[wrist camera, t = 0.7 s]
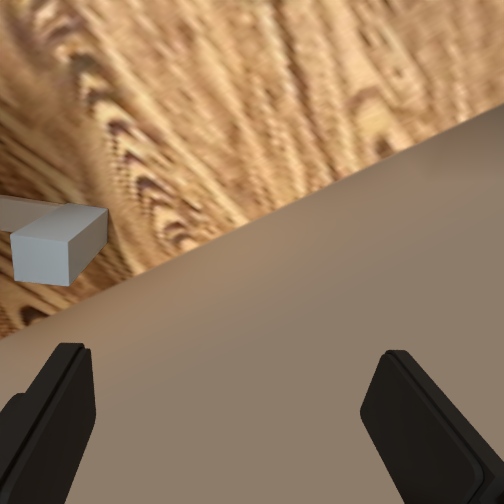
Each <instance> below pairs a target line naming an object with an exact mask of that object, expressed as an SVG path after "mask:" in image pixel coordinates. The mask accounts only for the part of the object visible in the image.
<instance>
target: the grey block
mask: <svg viewBox="0 0 504 504" xmlns="http://www.w3.org/2000/svg"><path fill="white" fill-rule="evenodd" d="M0 231H6V232H14V233H12V234H10V240H11V250H12V259H13V269H14V279H15V281H22V282H31V283H41V284H50V285H60V286H70V285H71V284H72V282H73V281H74V280H75V279H76V278H77V277H78V276H79V274H80V273H81V272H82V271H83V270H84V269H85V268H86V266H87V265H88V264H89V263H90V262H91V261H92V259H93V258H94V257H95V256H96V255H97V254H98V253H99V251H100V250H101V249H102V248H103V247H104V246H105V245H106V243H107V231H108V209H105V208H99V207H93V206H86V205H80V204H73V203H66V204H59V203H52V202H46V201H39V200H33V199H27V198H20V197H14V196H7V195H1V194H0Z"/></svg>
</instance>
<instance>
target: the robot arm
mask: <svg viewBox="0 0 504 504" xmlns="http://www.w3.org/2000/svg"><path fill="white" fill-rule="evenodd" d="M360 416H361V419H362V422H363V423H364V426H365V427H366V429H367V431H368V433H369V435H370V437H371V439H372V441H373V443H374V445H375V447H376V449H377V451H378V452H379V455H380V456H381V458H382V460H383V462H384V464H385V466H386V468H387V470H388V472H389V474H390V476H391V478H392V480H393V482H394V484H395V486H396V488H397V490H398V492H399V493H400V495H401V497H402V499H403V501H404V503H405V504H504V462H503V461H502V460H501V458H500V457H499V456H498V455H497V454H496V453H495V451H494V450H493V449H492V448H491V447H490V446H489V444H488V443H487V442H486V441H485V440H484V439H483V438H482V436H481V435H480V434H479V433H478V432H477V431H476V430H475V429H474V427H473V426H472V425H471V424H470V423H469V422H468V421H467V419H466V418H465V417H464V416H463V415H462V414H461V412H460V411H459V410H458V409H457V408H456V407H455V406H454V405H453V404H452V402H451V401H450V400H449V399H448V398H447V396H446V395H445V394H444V393H443V392H442V391H441V389H440V388H439V387H438V386H437V385H436V384H435V383H434V381H433V380H432V379H431V378H430V377H429V376H428V375H427V373H426V372H425V371H424V370H423V369H422V368H421V367H420V365H419V364H418V363H417V362H416V361H415V360H414V359H413V357H412V356H411V355H410V354H409V353H408V352H407V351H405V350H388V351H386V352H385V354H383V355H382V356H381V358H380V361H379V363H378V366H377V368H376V371H375V373H374V376H373V378H372V381H371V383H370V386H369V388H368V391H367V393H366V396H365V399H364V402H363V404H362V406H361V409H360ZM95 418H96V407H95V395H94V383H93V372H92V359H91V350H90V349H85V347H84V344H83V343H60V344H59V345H58V346H57V347H56V348H55V350H54V351H53V353H52V354H51V356H50V357H49V359H48V360H47V362H46V363H45V365H44V366H43V368H42V369H41V370H40V372H39V374H38V375H37V376H36V378H35V379H34V381H33V382H32V384H31V385H30V387H29V388H28V390H27V391H26V392H25V393H17V394H16V395H14V396H13V397H12V398H11V399H10V400H9V401H8V403H7V404H6V405H5V407H4V408H3V409H2V411H1V412H0V504H64V503H65V501H66V498H67V496H68V493H69V490H70V488H71V485H72V482H73V480H74V477H75V475H76V472H77V469H78V467H79V464H80V461H81V459H82V456H83V453H84V451H85V448H86V445H87V442H88V440H89V438H90V435H91V432H92V430H93V427H94V424H95Z"/></svg>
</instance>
